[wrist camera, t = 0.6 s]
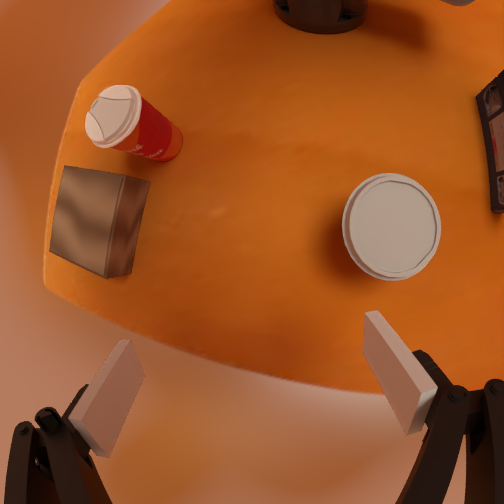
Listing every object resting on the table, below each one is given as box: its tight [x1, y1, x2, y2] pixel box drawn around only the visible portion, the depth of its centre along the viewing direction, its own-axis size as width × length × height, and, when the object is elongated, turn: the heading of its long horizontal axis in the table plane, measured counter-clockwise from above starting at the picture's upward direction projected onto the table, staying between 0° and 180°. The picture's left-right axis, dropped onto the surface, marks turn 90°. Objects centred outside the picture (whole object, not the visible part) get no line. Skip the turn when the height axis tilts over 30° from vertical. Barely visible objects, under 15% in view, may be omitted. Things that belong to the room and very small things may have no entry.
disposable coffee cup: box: [342, 173, 441, 281], centre depth 27 cm, size 10×10×12 cm
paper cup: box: [85, 85, 183, 162], centre depth 31 cm, size 8×8×14 cm
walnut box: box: [49, 165, 150, 279], centre depth 38 cm, size 14×14×6 cm
